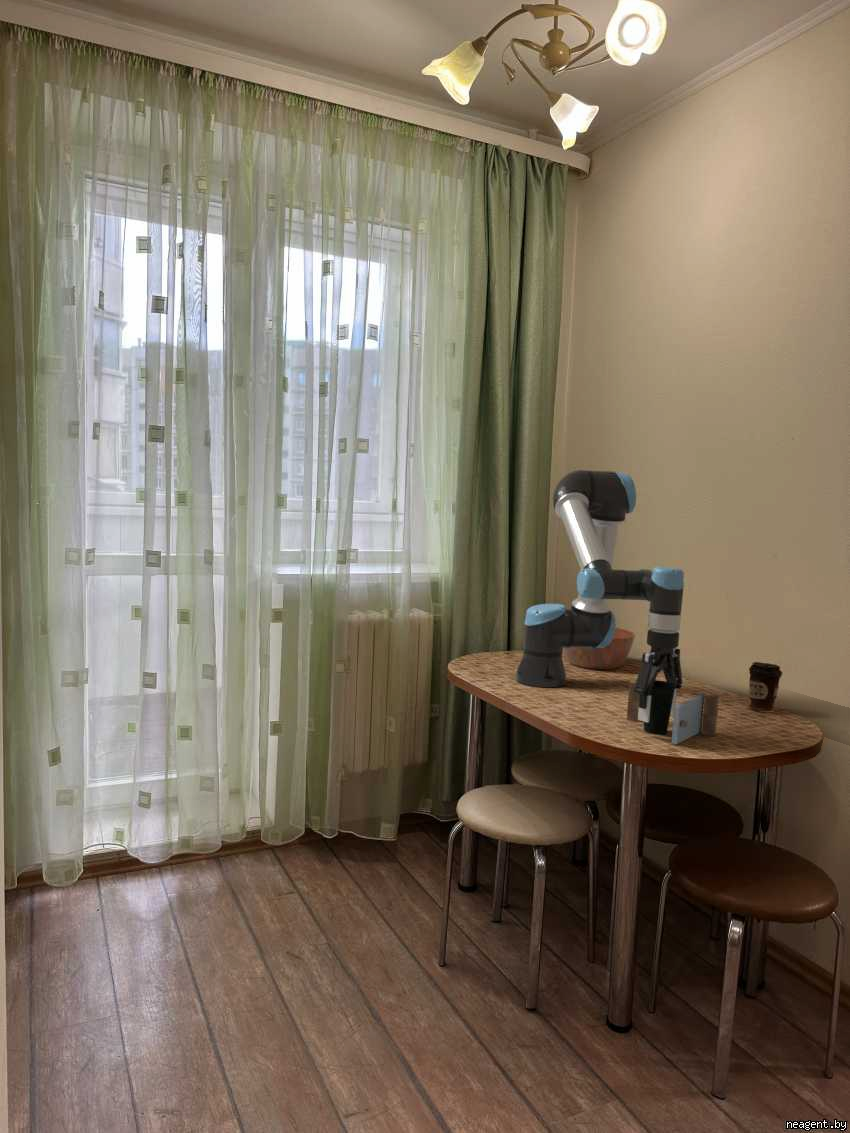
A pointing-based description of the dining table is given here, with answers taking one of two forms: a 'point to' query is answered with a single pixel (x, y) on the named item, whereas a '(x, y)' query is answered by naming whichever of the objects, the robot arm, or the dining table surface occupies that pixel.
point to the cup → (660, 707)
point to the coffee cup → (763, 686)
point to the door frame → (708, 713)
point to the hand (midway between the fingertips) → (656, 717)
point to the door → (688, 719)
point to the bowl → (603, 652)
